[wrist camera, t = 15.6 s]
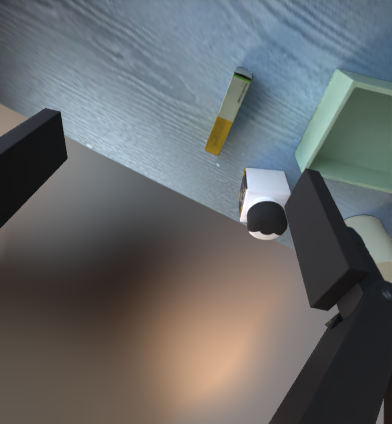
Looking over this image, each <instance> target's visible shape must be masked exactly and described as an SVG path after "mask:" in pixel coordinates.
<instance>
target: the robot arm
mask: <svg viewBox="0 0 392 424" xmlns="http://www.w3.org/2000/svg"><path fill="white" fill-rule="evenodd" d="M66 160H67V151H66V145H65V138H64V131H63V125H62V118H61V112H60V111H55V110H51V109H47V108H45V109H43V110H42V111H40V112H39V113H37V114H35V115H34V116H32V117H31V118H29V119H28V120H26V121H25V122H23V123H21V124H20V125H18V126H17V127H15V128H13V129H12V130H10V131H9V132H7V133H6V134H4V135H3V136H1V137H0V228H1V227H2V226H3V225H4V224H5V223H6V222H7V221H8V220H9V219H10V218H11V217H12V216H13V215H14V214H15V213H16V212H17V211H18V210H19V209H20V207H21V206H22V205H23V204H24V203H25V202H26V201H27V200H28V199H29V198H30V197H31V196H32V195H33V194H34V193H35V192H36V191H37V190H38V189H39V188H40V186H42V185H43V184H44V183H45V182H46V181H47V179H48V178H49V177H50V176H51V175H52V174H53V173H54V172H55V171H56V170H57V169H58V168H59V167H60V166H61V165H62V164H63V163H64V162H65V161H66ZM284 208H285V212H286V215H287V219H288V223H289V227H290V231H291V235H292V238H293V242H294V246H295V250H296V254H297V258H298V261H299V265H300V269H301V273H302V277H303V281H304V284H305V288H306V292H307V296H308V300H309V304H310V307H311V308H316V309H321V310H326V311H328V310H330V309H331V308H332V307H333V306H334V305H335V304H337V306H338V309H339V313H338V314H337V315H336V316H334V317H333V318H332V319H331V320H330V321H329V322H327V323H326V324H325V325H326V326H327V327H328V328H327V329H326V332H325V333H324V335H323V336H322V338H321V339H320V341H319V343H318V344H317V346H316V348H315V349H314V351H313V352H312V354H311V356H310V357H309V359H308V360H307V362H306V364H305V365H304V367H303V369H302V370H301V372H300V374H299V375H298V377H297V378H296V380H295V382H294V383H293V385H292V387H291V388H290V390H289V391H288V393H287V395H286V396H285V398H284V400H283V401H282V403H281V404H280V406H279V408H278V409H277V411H276V413H275V414H274V416H273V417H272V419H271V421H270V422H269V424H376V421H377V417H378V414H379V411H380V408H381V405H382V401H383V399H384V424H392V283H391V282H389V281H385V280H384V278H383V276H382V274H381V273H380V271H379V269H378V267H377V265H376V263H375V261H374V260H373V258H372V256H371V255H370V254H369V253H370V252H369V250H368V249H367V247H365V246H366V245H365V243H364V241H363V239H362V237H361V236H360V235H359V234H358V233H357V232H356V231H355V230H354V229H353V228H352V227H349V226H347V225H346V223H345V221H344V220H343V218H342V216H341V214H340V212H339V210H338V208H337V206H336V204H335V202H334V200H333V198H332V196H331V194H330V192H329V190H328V188H327V186H326V184H325V182H324V180H323V178H322V176H321V174H320V172H319V171H316V170H312V169H308V168H305V170H304V172H303V173H302V175H301V177H300V179H299V181H298V182H297V184H296V186H295V188H294V190H293V191H292V193H291V195H290V197H289V198H288V200H287V202H286V204H285V206H284Z"/></svg>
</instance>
